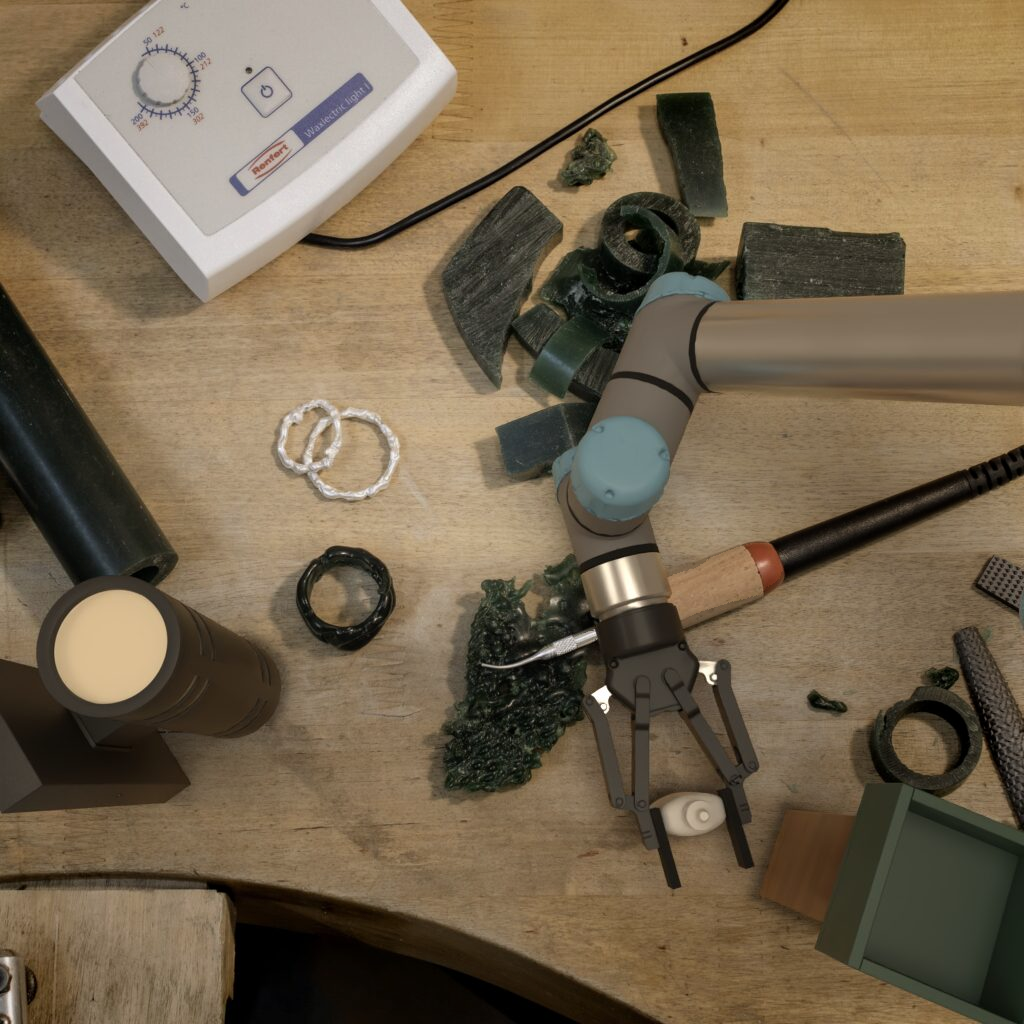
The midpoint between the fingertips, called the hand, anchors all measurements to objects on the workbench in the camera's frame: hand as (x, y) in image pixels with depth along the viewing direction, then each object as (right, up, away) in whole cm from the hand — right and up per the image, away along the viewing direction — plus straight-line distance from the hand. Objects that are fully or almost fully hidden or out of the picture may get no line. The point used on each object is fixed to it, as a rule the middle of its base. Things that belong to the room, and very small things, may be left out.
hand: (710, 876), depth 88 cm
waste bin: (+11, +4, -17) cm, 21 cm away
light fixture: (-45, +12, +10) cm, 48 cm away
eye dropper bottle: (-1, +3, +8) cm, 9 cm away
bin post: (+11, -2, +7) cm, 13 cm away
